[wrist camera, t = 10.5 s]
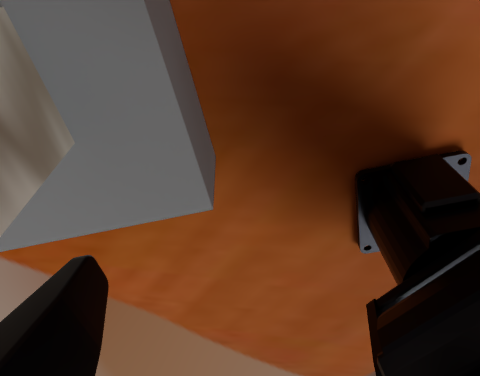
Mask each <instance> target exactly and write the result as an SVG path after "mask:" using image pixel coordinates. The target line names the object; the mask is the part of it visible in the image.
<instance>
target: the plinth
mask: <svg viewBox="0 0 480 376" xmlns="http://www.w3.org/2000/svg"><path fill="white" fill-rule="evenodd" d="M0 7H4V9H5V11H6V13H7V14H8V16H9V18H10V20H11V22H12V24H13V26H14V28H15V30H16V32H17V33H18V35H19V37H20V39H21V41H22V43H23V45H24V47H25V49H26V51H27V52H28V54H29V56H30V58H31V60H32V62H33V64H34V66H35V68H36V70H37V71H38V73H39V75H40V77H41V79H42V81H43V83H44V85H45V87H46V89H47V91H48V92H49V94H50V96H51V98H52V100H53V102H54V104H55V106H56V108H57V110H58V111H59V113H60V115H61V117H62V119H63V121H64V123H65V125H66V127H67V129H68V130H69V132H70V134H71V136H72V138H73V140H74V142H75V143H74V145H73V146H72V147H71V148H70V150H69V151H68V152H67V153H66V155H65V156H64V157H63V159H62V160H61V161H60V162H59V164H58V165H57V166H56V167H55V169H54V170H53V171H52V172H51V174H50V175H49V176H48V177H47V179H46V180H45V181H44V182H43V184H42V185H41V186H40V188H39V189H38V190H37V191H36V193H35V194H34V195H33V196H32V198H31V199H30V200H29V201H28V203H27V204H26V205H25V206H24V208H23V209H22V210H21V211H20V213H19V214H18V215H17V216H16V218H15V219H14V220H13V222H12V223H11V224H10V225H9V227H8V228H7V229H6V230H5V232H4V233H3V234H2V235H1V237H0V252H2V251H7V250H12V249H17V248H22V247H27V246H32V245H37V244H42V243H47V242H52V241H57V240H62V239H67V238H72V237H77V236H82V235H87V234H92V233H97V232H102V231H107V230H112V229H117V228H122V227H128V226H133V225H138V224H143V223H148V222H153V221H158V220H163V219H168V218H173V217H178V216H183V215H188V214H193V213H198V212H203V211H208V210H213V201H214V181H215V161H216V156H215V153H214V150H213V146H212V143H211V140H210V136H209V133H208V129H207V126H206V123H205V119H204V116H203V112H202V109H201V106H200V102H199V99H198V96H197V92H196V89H195V85H194V82H193V79H192V75H191V72H190V68H189V65H188V62H187V58H186V55H185V51H184V48H183V45H182V41H181V38H180V35H179V31H178V28H177V24H176V21H175V18H174V14H173V11H172V7H171V4H170V1H169V0H0Z"/></svg>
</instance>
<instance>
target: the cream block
mask: <svg viewBox="0 0 480 376" xmlns="http://www.w3.org/2000/svg"><path fill="white" fill-rule="evenodd" d="M74 143H75V142H74V140H73V138H72V136H71V134H70V132H69V130H68V129H67V127H66V125H65V123H64V121H63V119H62V117H61V115H60V113H59V111H58V110H57V108H56V106H55V104H54V102H53V100H52V98H51V96H50V94H49V92H48V91H47V89H46V87H45V85H44V83H43V81H42V79H41V77H40V75H39V73H38V71H37V70H36V68H35V66H34V64H33V62H32V60H31V58H30V56H29V54H28V52H27V51H26V49H25V47H24V45H23V43H22V41H21V39H20V37H19V35H18V33H17V32H16V30H15V28H14V26H13V24H12V22H11V20H10V18H9V16H8V14H7V13H6V11H5V9H4V7H0V237H1V235H2V234H3V233H4V232H5V230H6V229H7V228H8V227H9V225H10V224H11V223H12V222H13V220H14V219H15V218H16V216H17V215H18V214H19V213H20V211H21V210H22V209H23V208H24V206H25V205H26V204H27V203H28V201H29V200H30V199H31V198H32V196H33V195H34V194H35V193H36V191H37V190H38V189H39V188H40V186H41V185H42V184H43V182H44V181H45V180H46V179H47V177H48V176H49V175H50V174H51V172H52V171H53V170H54V169H55V167H56V166H57V165H58V164H59V162H60V161H61V160H62V159H63V157H64V156H65V155H66V153H67V152H68V151H69V150H70V148H71V147H72V146H73V145H74Z"/></svg>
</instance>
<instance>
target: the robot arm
mask: <svg viewBox="0 0 480 376" xmlns="http://www.w3.org/2000/svg"><path fill="white" fill-rule="evenodd" d="M460 158H463V159H462V160H461V161H459V162H458V160H459V159H460ZM470 165H471V156H470V155H469V154H468V153H467V152H466V151H463V150H461V151H455V152H450V153H445V154H440V155H438V154H435V155H430V156H425V157H420V158H415V159H410V160H405V161H400V162H396V163H394V164H390V165H385V166H380V167H375V168H370V169H365V170H362V171H359V172H358V173H357V174H356V176H355V189H356V208H357V228H358V246H359V248H360V250H361V252H362V253H372V252H378V251H380V252H381V254H382V256H383V258H384V259H385V261H386V263H387V265H388V267H389V269H390V271H391V273H392V275H393V277H394V279H395V281H396V283H397V286H396V287H394V288H393V289H391V290H390V291H389V292H387V293H386V294H384V295H383V296H381V297H380V298H378V299H377V300H376V299H373V300H372V301H370V302H369V303H368V304H366V308H367V315H368V323H369V331H370V339H371V347H372V355H373V362H374V367H375V372H376V376H480V193H479V192H478V191H477V190H476V189H475V188H474V187H473V186H472V185H471V184H470V183H469V182H468V178H469V171H470ZM364 177H367V179H366V180H364V181H361V180H362V179H363V178H364ZM367 245H368V246H367ZM365 246H366V247H365ZM107 297H108V280H107V278H106V276H105V274H104V273H103V271H102V269H101V268H100V266H99V265H98V263H97V261H96V260H95V258H94V257H92V256H91V255H86V256H80V257H76V258H73V259H71V260H70V261H69V262H68V263H67V264H66V265H65V266H63V267H62V268H61V269H60V270H59V271H58V272H57V273H55V274H54V275H53V276H52V277H51V278H50V279H49V280H48V281H46V282H45V283H44V284H43V285H42V286H41V287H40V288H39V289H37V290H36V291H35V292H34V293H33V294H32V295H31V296H29V297H28V298H27V299H26V300H25V301H24V302H23V303H21V304H20V305H19V306H18V307H17V308H16V309H15V310H14V311H12V312H11V313H10V314H9V315H8V316H7V317H6V318H4V319H3V320H2V321H1V322H0V376H95V373H96V369H97V365H98V360H99V356H100V350H101V345H102V338H103V330H104V321H105V313H106V305H107Z"/></svg>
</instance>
